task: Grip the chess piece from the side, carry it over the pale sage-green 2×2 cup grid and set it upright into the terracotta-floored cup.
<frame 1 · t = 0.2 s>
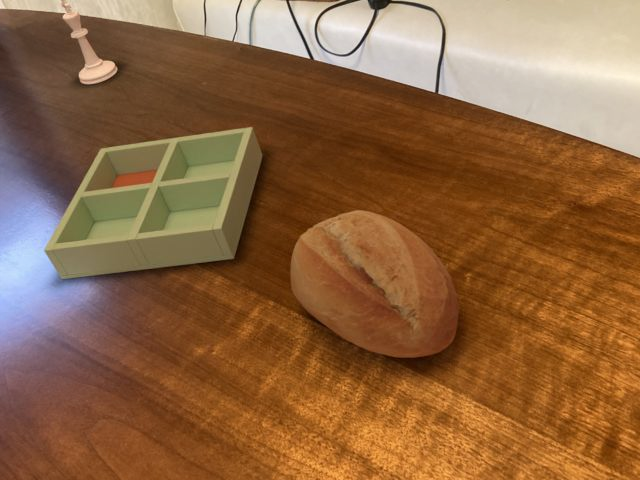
chess piece: (99, 76, 100), on the table
bread roll: (378, 319, 58), on the table
grid: (168, 213, 73), on the table
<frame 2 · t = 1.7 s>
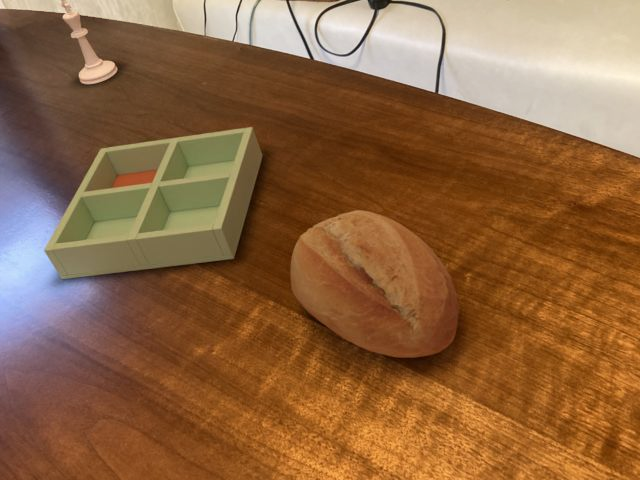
nothing on the table moved.
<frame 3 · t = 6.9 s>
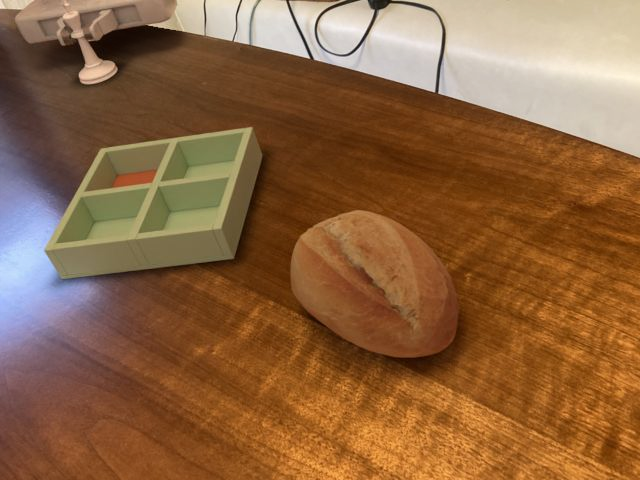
hand: (77, 37, 95), 6 cm above the table, tool horizontal, fingers closed on chess piece
chess piece: (99, 76, 100), on the table, touching gripper
everything else where it was.
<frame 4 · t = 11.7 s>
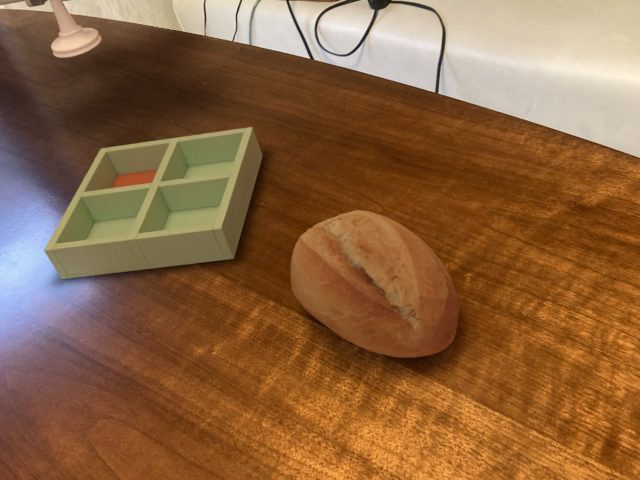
chess piece: (78, 47, 77), point 11 cm above the table, touching gripper
everything else where it was.
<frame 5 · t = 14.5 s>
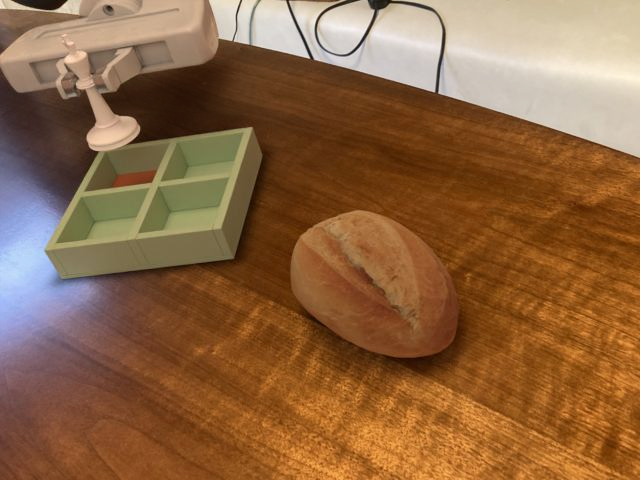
hand: (85, 88, 68), 12 cm above the table, tool horizontal, fingers closed on chess piece
chess piece: (115, 138, 72), point 6 cm above the table, touching gripper
everything else where it was.
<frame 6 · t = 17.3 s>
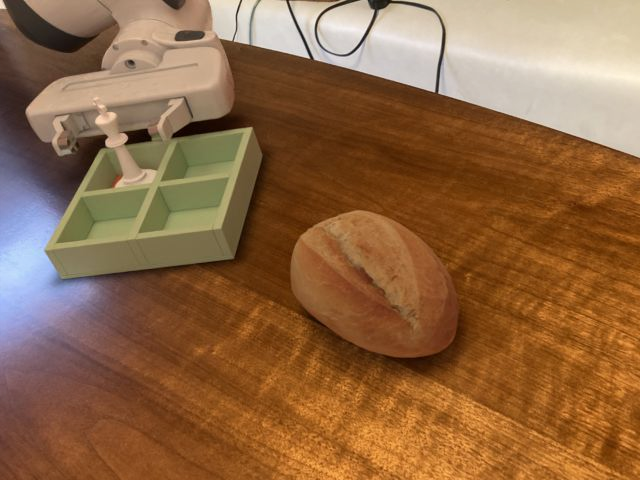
hand: (109, 142, 71), 7 cm above the table, tool horizontal, fingers open, 8 cm apart
chess piece: (141, 190, 76), resting on grid
everything else where it was.
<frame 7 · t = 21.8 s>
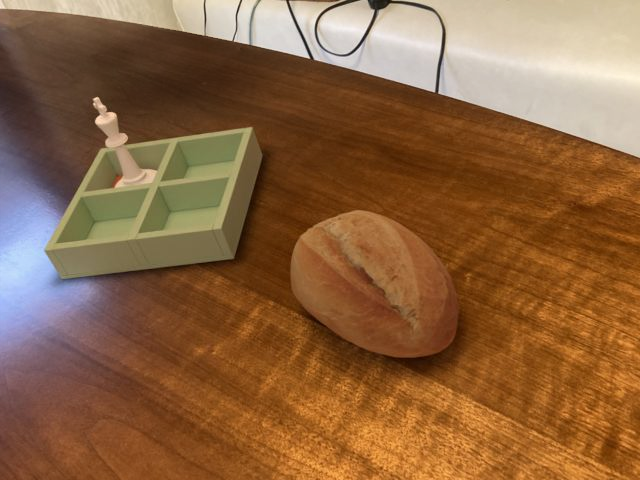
nothing on the table moved.
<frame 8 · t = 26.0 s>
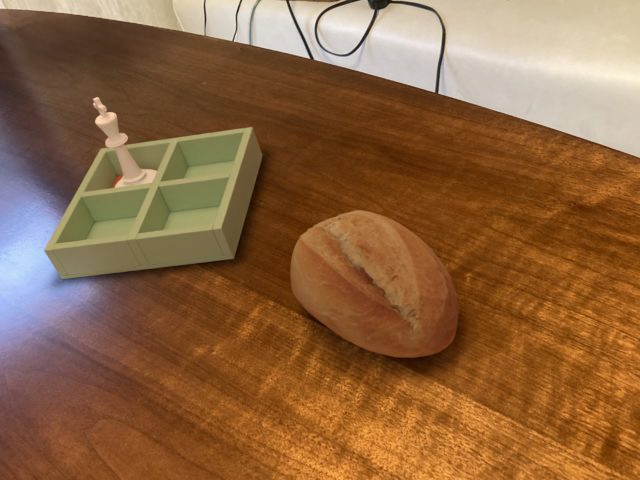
nothing on the table moved.
at the end: chess piece 0.1 cm from the target spot in the grid, point 0.4 cm above the grid's base; chess piece tilted 0°; the gripper is holding nothing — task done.
